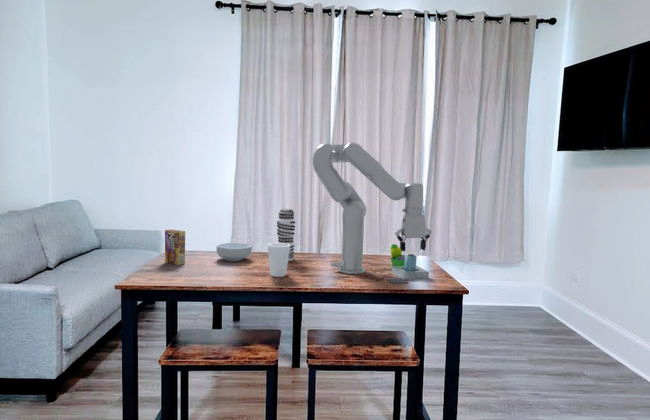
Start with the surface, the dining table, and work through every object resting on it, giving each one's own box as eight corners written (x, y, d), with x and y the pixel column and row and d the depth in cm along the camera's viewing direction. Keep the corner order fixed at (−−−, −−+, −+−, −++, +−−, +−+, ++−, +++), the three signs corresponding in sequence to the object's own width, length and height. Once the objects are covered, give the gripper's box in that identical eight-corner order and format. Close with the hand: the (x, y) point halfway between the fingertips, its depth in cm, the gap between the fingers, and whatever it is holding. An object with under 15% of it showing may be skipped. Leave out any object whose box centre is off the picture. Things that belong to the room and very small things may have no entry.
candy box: (185, 263, 201) (185, 230, 199) (178, 265, 197) (178, 231, 196) (171, 261, 205) (171, 228, 203) (164, 262, 201) (164, 229, 199)
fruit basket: (406, 271, 201) (407, 247, 200) (387, 269, 204) (388, 245, 203) (409, 266, 212) (411, 243, 211) (391, 264, 215) (392, 241, 214)
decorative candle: (290, 256, 224) (291, 208, 221) (297, 260, 215) (298, 210, 213) (273, 257, 220) (274, 208, 217) (279, 261, 212) (281, 210, 209)
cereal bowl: (257, 261, 211) (258, 246, 210) (226, 265, 201) (226, 250, 200) (241, 254, 224) (241, 241, 224) (210, 258, 214) (210, 244, 213)
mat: (392, 284, 178) (392, 283, 178) (385, 279, 185) (385, 278, 185) (408, 283, 180) (408, 282, 180) (400, 278, 187) (400, 277, 187)
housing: (403, 279, 186) (403, 272, 185) (391, 272, 197) (391, 266, 197) (428, 278, 189) (428, 271, 189) (415, 271, 201) (415, 265, 200)
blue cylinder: (407, 277, 190) (408, 255, 189) (401, 274, 195) (403, 253, 194) (417, 276, 191) (418, 255, 190) (412, 274, 196) (413, 253, 195)
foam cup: (264, 272, 189) (265, 243, 188) (285, 271, 193) (285, 242, 191) (270, 278, 180) (271, 247, 179) (292, 276, 184) (292, 246, 183)
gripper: (399, 212, 184) (398, 252, 186) (435, 211, 189) (434, 250, 191) (391, 211, 191) (391, 249, 193) (427, 210, 196) (426, 247, 198)
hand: (412, 250), depth 192 cm, fingers open, 9 cm apart
